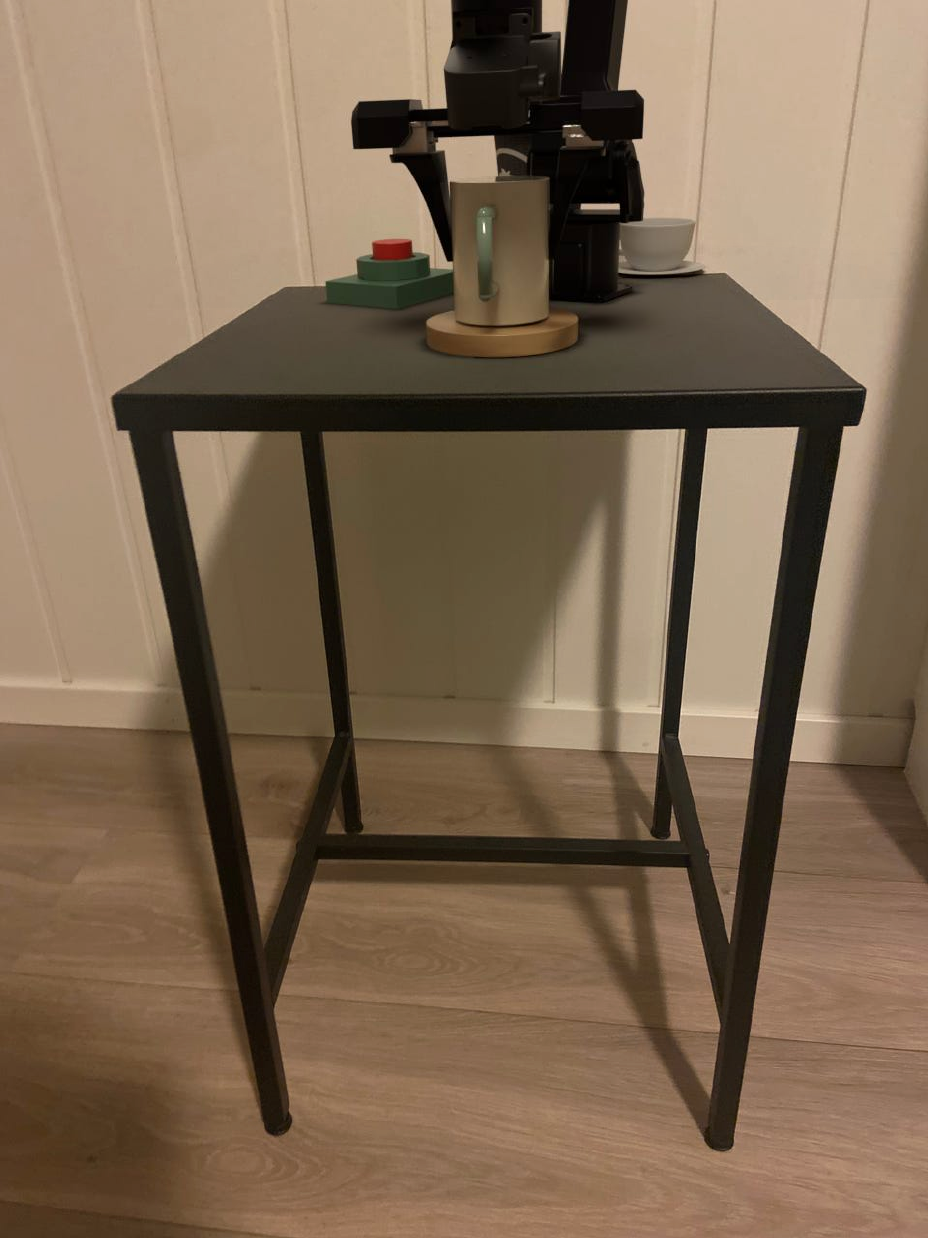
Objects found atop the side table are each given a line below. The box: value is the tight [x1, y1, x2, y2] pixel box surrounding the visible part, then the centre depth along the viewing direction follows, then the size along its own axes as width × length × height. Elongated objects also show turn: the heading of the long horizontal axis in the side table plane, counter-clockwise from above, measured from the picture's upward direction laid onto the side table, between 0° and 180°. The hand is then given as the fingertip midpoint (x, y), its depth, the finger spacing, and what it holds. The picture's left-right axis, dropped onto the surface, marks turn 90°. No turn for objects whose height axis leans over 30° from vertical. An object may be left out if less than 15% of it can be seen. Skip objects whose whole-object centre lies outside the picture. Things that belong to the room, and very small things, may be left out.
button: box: [371, 238, 413, 260], centre depth 85 cm, size 4×4×2 cm
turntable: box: [425, 307, 579, 359], centre depth 68 cm, size 11×11×2 cm
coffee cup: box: [493, 110, 582, 286], centre depth 88 cm, size 10×10×15 cm
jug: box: [449, 175, 550, 326], centre depth 65 cm, size 11×7×9 cm, turn 168°
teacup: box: [618, 217, 706, 276], centre depth 93 cm, size 10×10×5 cm
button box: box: [325, 251, 454, 310], centre depth 86 cm, size 10×8×4 cm
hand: (500, 260), depth 66 cm, fingers closed on jug, 7 cm apart
